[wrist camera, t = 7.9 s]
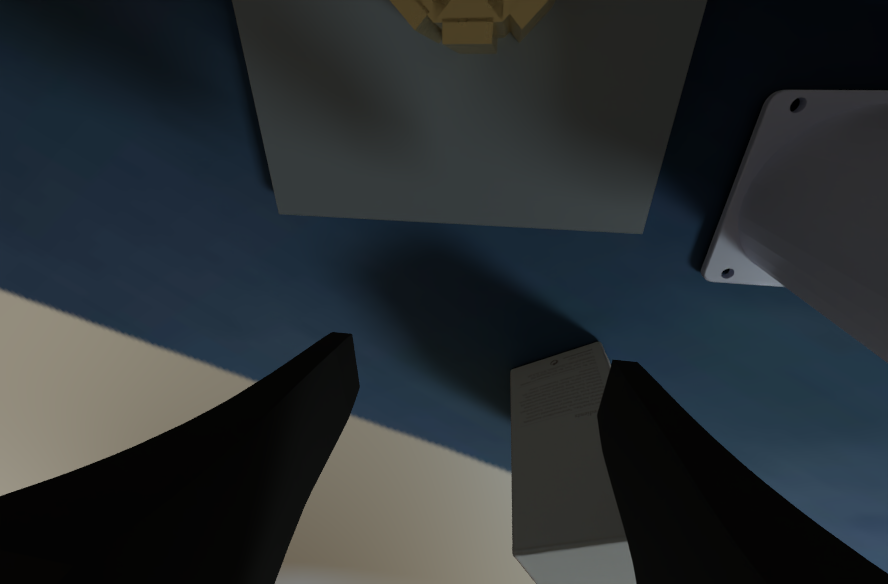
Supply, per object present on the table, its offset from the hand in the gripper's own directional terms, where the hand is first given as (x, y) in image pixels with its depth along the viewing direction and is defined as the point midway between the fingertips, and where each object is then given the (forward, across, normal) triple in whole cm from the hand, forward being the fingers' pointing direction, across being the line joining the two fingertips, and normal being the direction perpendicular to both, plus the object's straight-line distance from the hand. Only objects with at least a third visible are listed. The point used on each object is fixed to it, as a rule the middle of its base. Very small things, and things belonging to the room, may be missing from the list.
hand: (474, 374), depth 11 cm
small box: (+10, -6, +10) cm, 15 cm away
